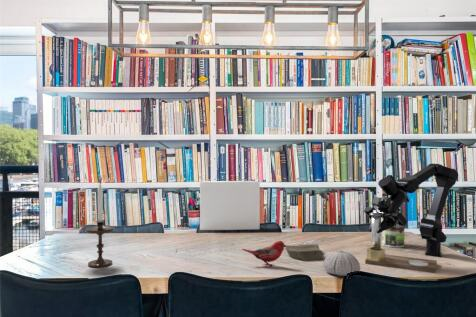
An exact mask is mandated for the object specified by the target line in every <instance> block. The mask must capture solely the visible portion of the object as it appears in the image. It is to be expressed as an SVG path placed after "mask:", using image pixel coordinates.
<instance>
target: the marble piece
mask: <svg viewBox="0 0 476 317" xmlns="http://www.w3.org/2000/svg"><path fill="white" fill-rule="evenodd" d="M286 246H287V247H285V250H286V252H287V254H288V256H289V257H291V258H292V259H296V260H301V261H319V260H321V259H323V251H322V250H321V249H320V247H319V244H317V243H312V244H301V245H298V244H297V245H286Z"/></svg>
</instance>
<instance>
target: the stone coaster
mask: <svg viewBox="0 0 476 317" xmlns="http://www.w3.org/2000/svg"><path fill="white" fill-rule="evenodd" d="M408 263H409V264H410V265H414V266H428V263H427V262H425V261H421V260H409V261H408Z"/></svg>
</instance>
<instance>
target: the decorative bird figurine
mask: <svg viewBox="0 0 476 317" xmlns="http://www.w3.org/2000/svg"><path fill="white" fill-rule="evenodd" d="M287 246H288V245H285V243H284V241H282V240H278V241H276V242H274V243H273V244H272V245H270V246H269V245H268V246H266V247H265V246H264V247H262V248H258V249H255V250H251V249H245V248H242V249H241V250H242V251H245V252H247V253H249V254H251V255H253V256H254V257H255V258H256V259H258V260H261V261H262V262H264V263H263V264H262V266H269V267H272V266H274V264H272V263H271V262H274V261H278V259H279V258H280V257H281V255H282V253H283V251H284V250H285V248H286V247H287ZM269 262H270V263H269Z"/></svg>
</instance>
